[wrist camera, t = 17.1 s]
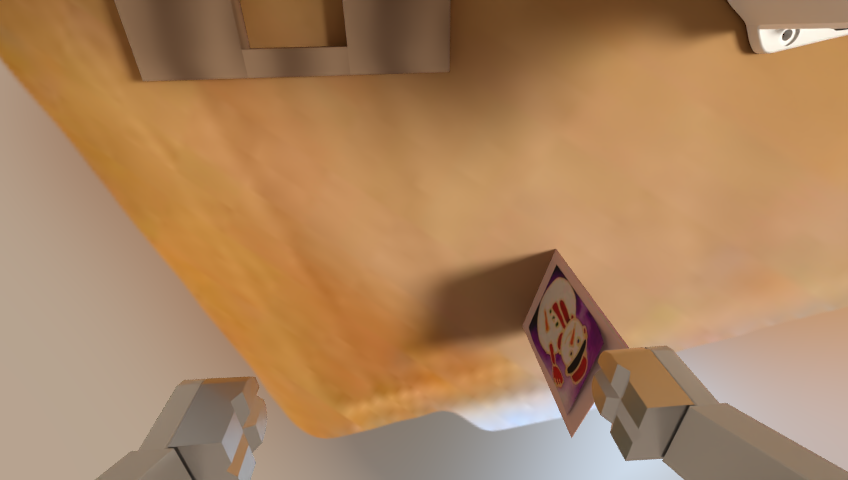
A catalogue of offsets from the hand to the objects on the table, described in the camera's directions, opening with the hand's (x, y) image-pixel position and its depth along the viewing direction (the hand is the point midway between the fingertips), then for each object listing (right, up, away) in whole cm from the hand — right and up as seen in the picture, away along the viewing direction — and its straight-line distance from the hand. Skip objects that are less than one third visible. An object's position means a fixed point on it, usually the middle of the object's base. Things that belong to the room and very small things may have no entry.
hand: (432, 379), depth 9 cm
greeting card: (+16, -3, +37) cm, 40 cm away
